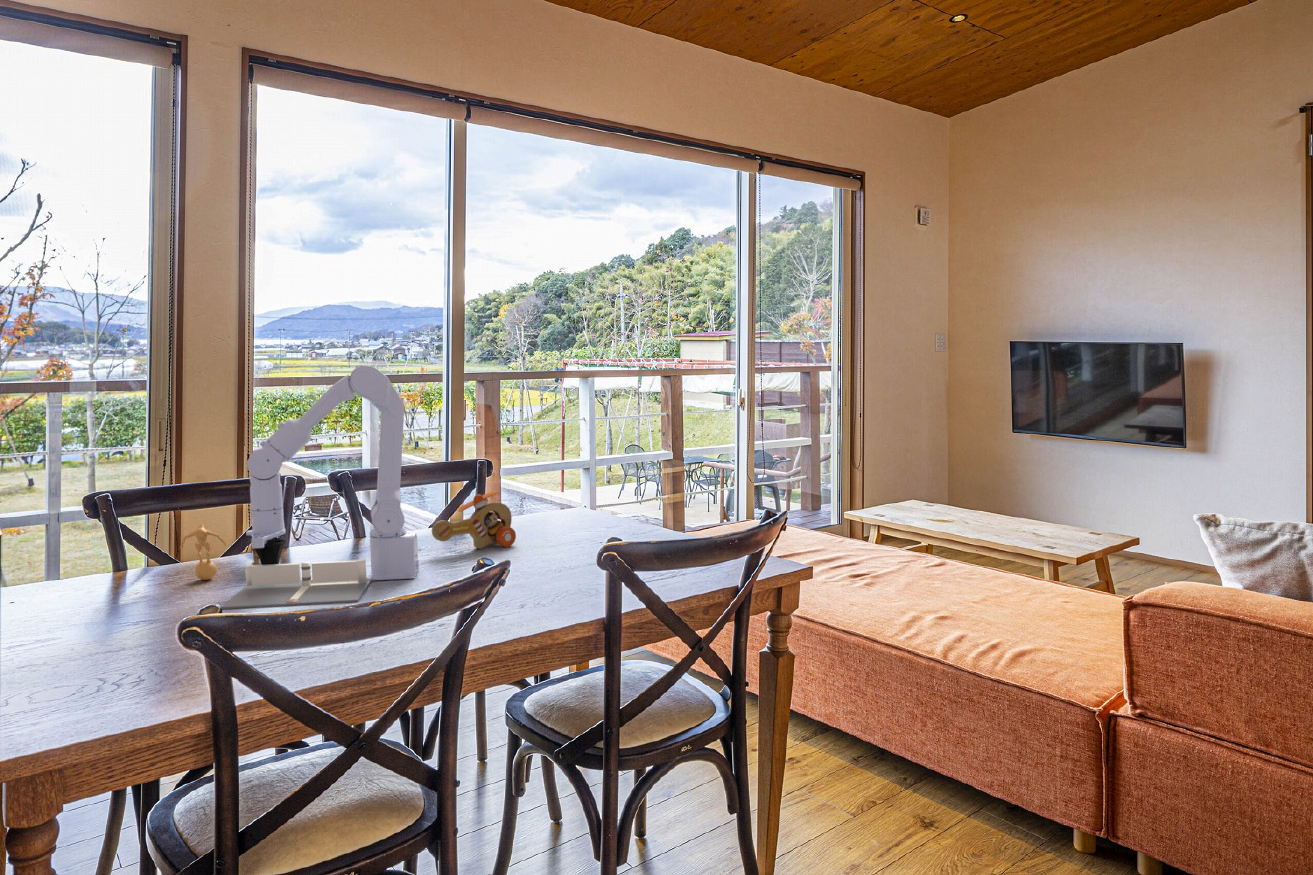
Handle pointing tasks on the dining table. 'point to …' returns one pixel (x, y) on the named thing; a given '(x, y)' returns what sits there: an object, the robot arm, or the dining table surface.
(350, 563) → the fixed fence section
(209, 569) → the figurine
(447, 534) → the toy helicopter
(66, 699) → the dining table surface
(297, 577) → the hinged fence panel
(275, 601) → the board
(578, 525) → the dining table surface
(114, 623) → the dining table surface
